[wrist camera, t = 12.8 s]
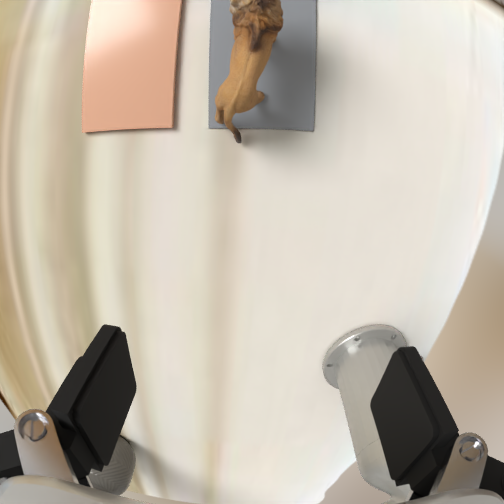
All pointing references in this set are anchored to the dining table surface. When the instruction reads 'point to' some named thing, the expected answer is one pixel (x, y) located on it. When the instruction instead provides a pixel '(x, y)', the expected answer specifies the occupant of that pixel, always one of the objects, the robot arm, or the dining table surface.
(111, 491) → the lamp
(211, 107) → the slate tile
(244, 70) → the lion figurine
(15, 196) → the dining table surface
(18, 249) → the dining table surface
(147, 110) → the terracotta tile
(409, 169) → the dining table surface
